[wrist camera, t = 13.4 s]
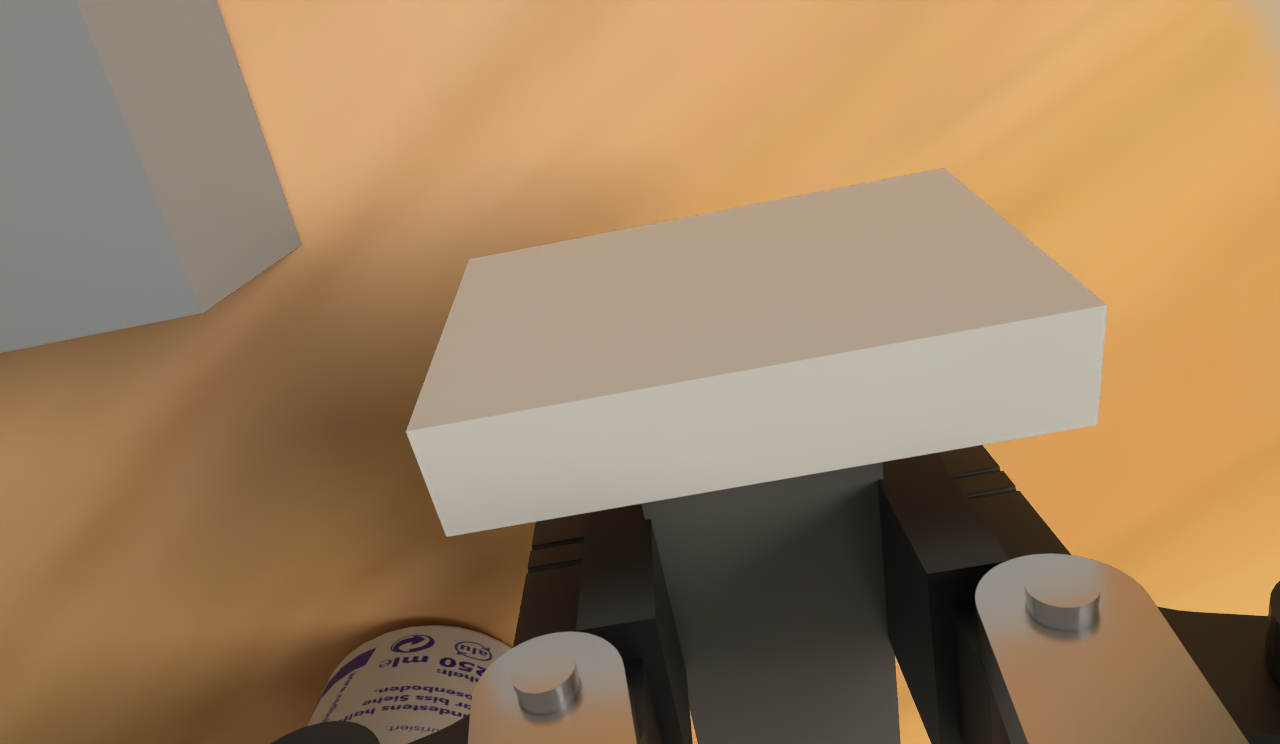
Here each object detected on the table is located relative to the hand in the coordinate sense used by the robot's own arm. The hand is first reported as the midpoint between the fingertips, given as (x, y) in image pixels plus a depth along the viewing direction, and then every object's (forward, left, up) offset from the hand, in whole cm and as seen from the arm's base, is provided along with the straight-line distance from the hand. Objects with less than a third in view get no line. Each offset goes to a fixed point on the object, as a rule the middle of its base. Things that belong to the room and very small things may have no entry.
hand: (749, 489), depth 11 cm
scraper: (-1, 0, -2) cm, 2 cm away
